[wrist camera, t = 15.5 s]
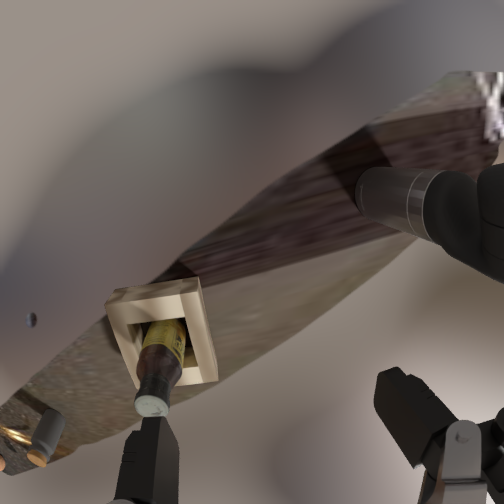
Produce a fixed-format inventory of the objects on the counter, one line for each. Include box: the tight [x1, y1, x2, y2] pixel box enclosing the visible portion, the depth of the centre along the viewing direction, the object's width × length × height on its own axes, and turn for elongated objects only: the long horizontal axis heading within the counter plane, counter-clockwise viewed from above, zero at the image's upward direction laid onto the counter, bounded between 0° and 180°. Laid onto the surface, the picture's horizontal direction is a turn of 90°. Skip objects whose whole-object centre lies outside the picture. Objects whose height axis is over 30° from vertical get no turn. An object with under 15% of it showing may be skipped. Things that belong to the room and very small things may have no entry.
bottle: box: [27, 409, 66, 467], centre depth 42 cm, size 6×6×15 cm
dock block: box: [105, 276, 218, 389], centre depth 44 cm, size 14×16×6 cm
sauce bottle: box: [134, 318, 186, 417], centre depth 37 cm, size 6×6×20 cm
